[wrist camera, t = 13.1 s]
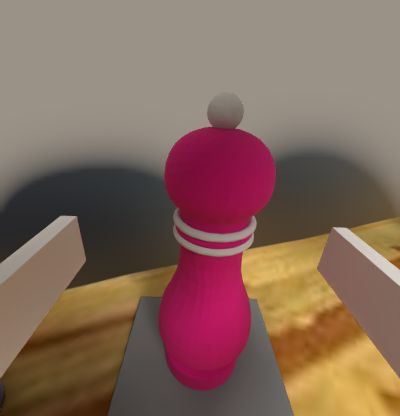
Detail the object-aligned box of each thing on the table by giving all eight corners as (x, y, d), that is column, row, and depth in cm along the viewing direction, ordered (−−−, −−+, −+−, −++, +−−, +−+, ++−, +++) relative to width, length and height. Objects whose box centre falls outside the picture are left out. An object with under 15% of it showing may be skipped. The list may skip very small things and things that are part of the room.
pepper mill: (144, 342, 19) (121, 85, 10) (203, 301, 23) (223, 96, 15) (196, 427, 14) (238, 79, 5) (259, 354, 18) (337, 99, 10)
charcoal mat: (255, 304, 24) (256, 299, 24) (296, 439, 14) (299, 434, 14) (141, 301, 24) (141, 296, 23) (103, 441, 14) (101, 435, 13)
